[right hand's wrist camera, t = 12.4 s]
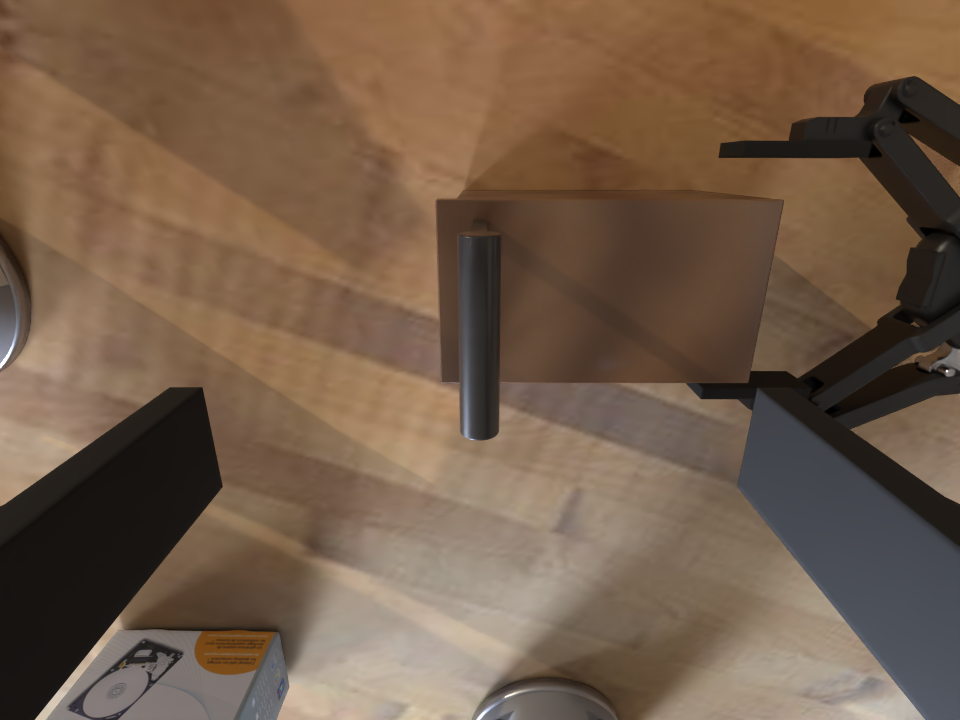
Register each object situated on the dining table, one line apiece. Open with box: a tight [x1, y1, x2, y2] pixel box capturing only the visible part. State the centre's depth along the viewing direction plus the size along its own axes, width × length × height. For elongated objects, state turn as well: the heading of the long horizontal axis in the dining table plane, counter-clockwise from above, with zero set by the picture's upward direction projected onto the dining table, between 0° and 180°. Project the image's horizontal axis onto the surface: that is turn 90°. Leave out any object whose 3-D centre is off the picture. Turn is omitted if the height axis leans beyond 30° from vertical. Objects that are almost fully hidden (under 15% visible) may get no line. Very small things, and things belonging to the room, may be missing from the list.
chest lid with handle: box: [436, 199, 784, 440], centre depth 23 cm, size 16×9×9 cm, turn 90°
